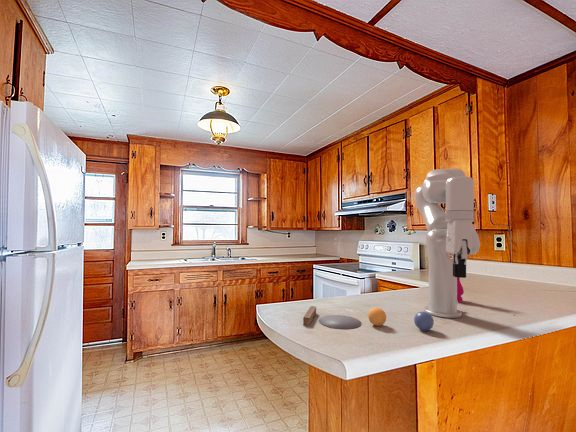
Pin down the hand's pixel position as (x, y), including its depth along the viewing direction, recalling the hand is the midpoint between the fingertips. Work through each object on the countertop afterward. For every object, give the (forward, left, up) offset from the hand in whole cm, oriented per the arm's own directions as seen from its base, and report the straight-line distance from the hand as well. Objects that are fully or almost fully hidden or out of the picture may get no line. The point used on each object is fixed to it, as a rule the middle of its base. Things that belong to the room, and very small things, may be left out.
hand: (459, 276), depth 91 cm
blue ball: (+6, -8, -14) cm, 17 cm away
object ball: (+14, -20, -14) cm, 28 cm away
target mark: (+21, -30, -17) cm, 40 cm away
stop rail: (+26, -38, -17) cm, 49 cm away
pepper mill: (-43, -17, -17) cm, 50 cm away
